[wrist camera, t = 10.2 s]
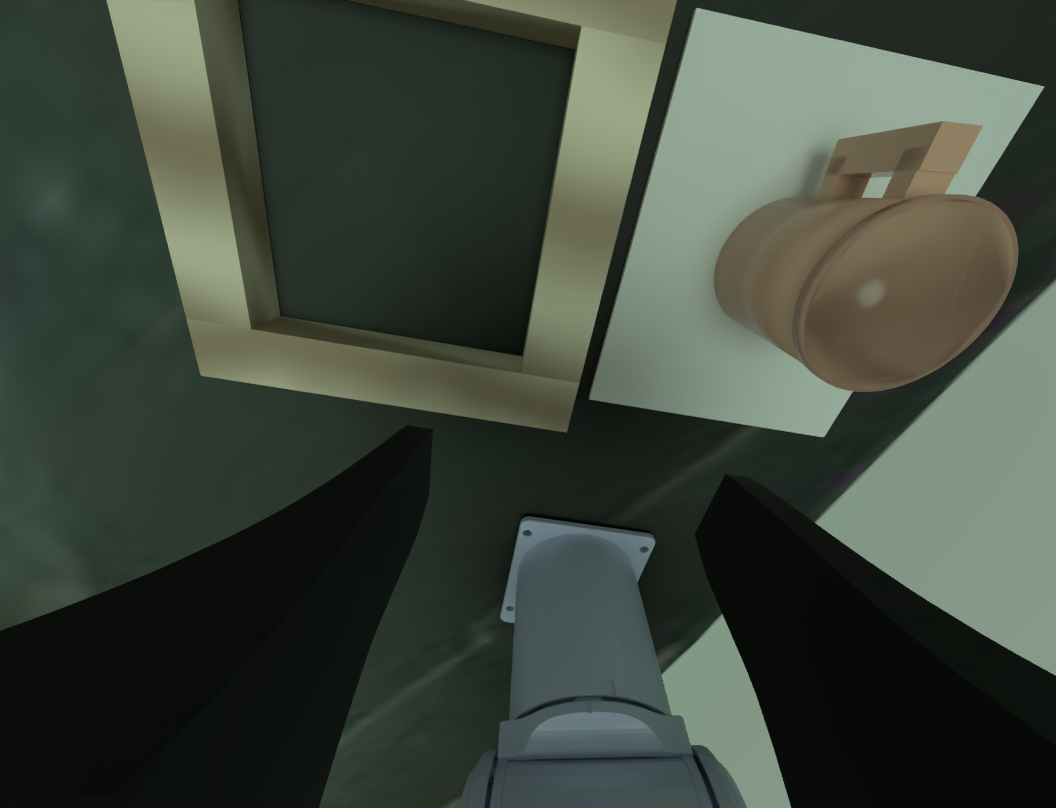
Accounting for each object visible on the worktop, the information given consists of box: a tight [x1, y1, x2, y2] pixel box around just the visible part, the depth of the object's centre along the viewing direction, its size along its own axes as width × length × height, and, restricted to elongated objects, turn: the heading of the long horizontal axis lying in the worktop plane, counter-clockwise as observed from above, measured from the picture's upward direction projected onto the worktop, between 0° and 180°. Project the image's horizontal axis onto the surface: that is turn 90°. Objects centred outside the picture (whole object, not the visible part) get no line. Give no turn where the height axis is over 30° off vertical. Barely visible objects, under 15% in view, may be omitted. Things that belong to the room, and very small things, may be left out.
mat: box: [589, 8, 1044, 437], centre depth 16 cm, size 14×12×1 cm
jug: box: [714, 121, 1018, 392], centre depth 13 cm, size 5×7×6 cm
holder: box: [107, 0, 677, 432], centre depth 14 cm, size 16×16×2 cm
